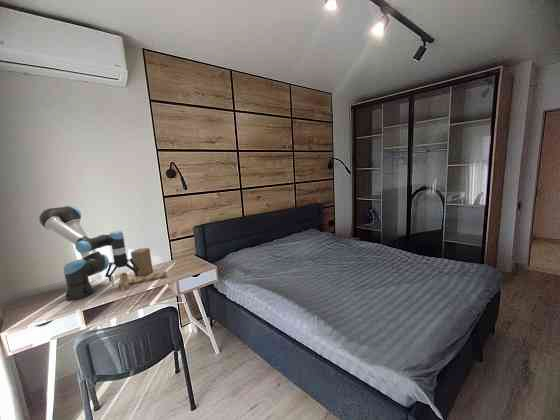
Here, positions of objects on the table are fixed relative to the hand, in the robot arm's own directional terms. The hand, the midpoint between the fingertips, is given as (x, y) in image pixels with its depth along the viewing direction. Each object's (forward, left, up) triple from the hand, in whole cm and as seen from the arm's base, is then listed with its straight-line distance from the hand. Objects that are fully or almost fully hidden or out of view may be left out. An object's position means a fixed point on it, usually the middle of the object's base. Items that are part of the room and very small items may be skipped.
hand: (124, 283), depth 178 cm
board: (+11, +9, -4) cm, 14 cm away
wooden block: (+10, +26, -4) cm, 28 cm away
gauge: (0, +4, -4) cm, 5 cm away
